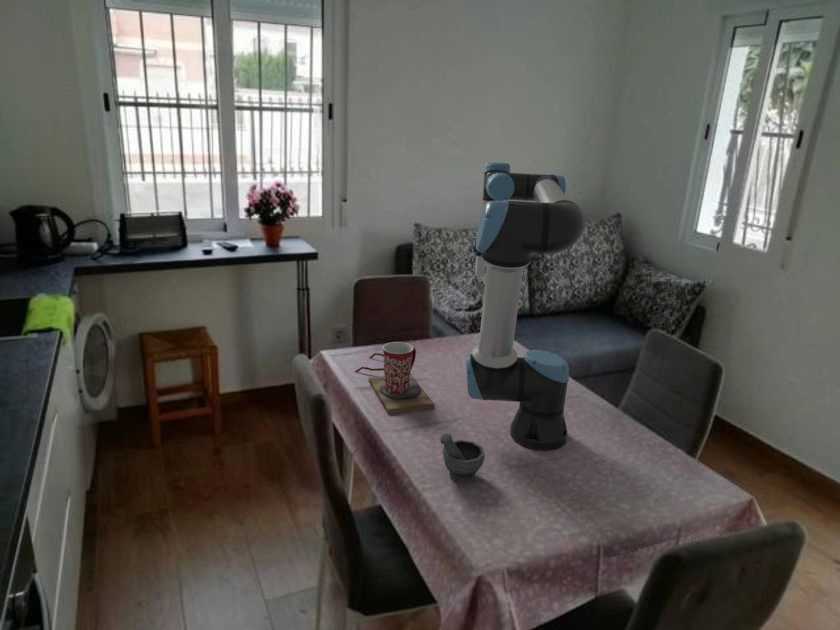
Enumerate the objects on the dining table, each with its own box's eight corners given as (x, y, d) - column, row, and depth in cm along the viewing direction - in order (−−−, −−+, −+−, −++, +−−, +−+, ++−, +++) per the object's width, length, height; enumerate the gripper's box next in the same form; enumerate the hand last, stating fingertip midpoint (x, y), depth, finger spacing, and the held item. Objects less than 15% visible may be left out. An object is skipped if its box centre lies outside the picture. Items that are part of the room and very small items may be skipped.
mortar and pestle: (470, 461, 150) (474, 418, 146) (489, 482, 142) (494, 437, 138) (429, 470, 146) (432, 426, 142) (447, 492, 138) (450, 446, 134)
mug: (398, 398, 176) (400, 355, 171) (375, 389, 181) (376, 347, 177) (425, 385, 185) (427, 344, 181) (402, 376, 190) (404, 336, 186)
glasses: (391, 379, 195) (391, 365, 193) (354, 373, 198) (354, 359, 197) (404, 364, 207) (404, 351, 205) (368, 358, 210) (369, 345, 209)
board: (433, 408, 176) (434, 400, 175) (387, 414, 172) (387, 406, 171) (410, 377, 196) (410, 370, 195) (368, 381, 191) (368, 374, 190)
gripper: (524, 221, 175) (517, 291, 182) (487, 207, 197) (482, 270, 204) (500, 221, 172) (494, 293, 179) (466, 207, 195) (462, 271, 201)
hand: (488, 281), depth 191 cm, fingers open, 13 cm apart
